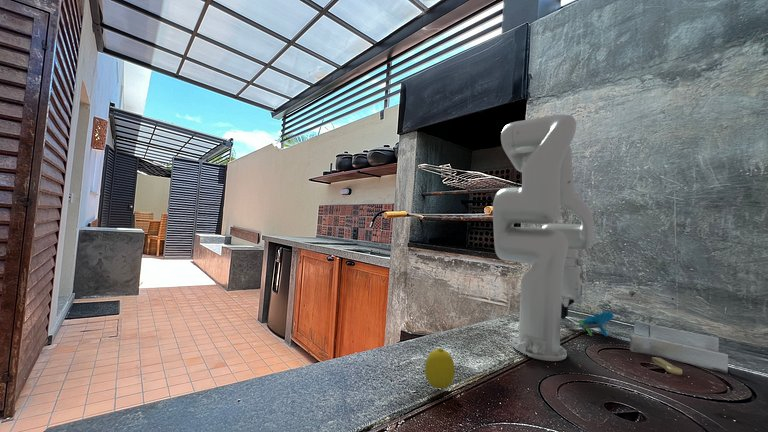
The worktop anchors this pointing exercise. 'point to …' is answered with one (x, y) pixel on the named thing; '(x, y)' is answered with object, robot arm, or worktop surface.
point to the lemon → (439, 368)
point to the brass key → (667, 366)
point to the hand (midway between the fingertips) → (562, 317)
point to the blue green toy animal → (596, 322)
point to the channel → (678, 346)
